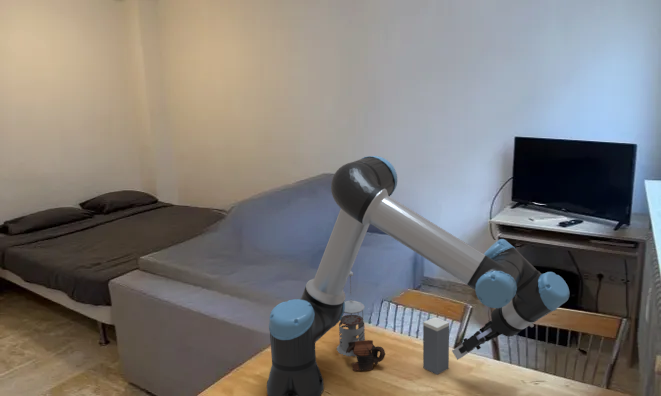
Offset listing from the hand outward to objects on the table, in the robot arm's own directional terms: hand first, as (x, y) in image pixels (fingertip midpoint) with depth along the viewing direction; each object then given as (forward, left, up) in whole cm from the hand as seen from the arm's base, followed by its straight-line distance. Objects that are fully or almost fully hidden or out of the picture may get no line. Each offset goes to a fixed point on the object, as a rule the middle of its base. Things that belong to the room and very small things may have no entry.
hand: (456, 354), depth 144 cm
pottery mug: (-22, -13, -7) cm, 27 cm away
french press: (-32, -9, -7) cm, 34 cm away
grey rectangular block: (-7, 0, -7) cm, 10 cm away
